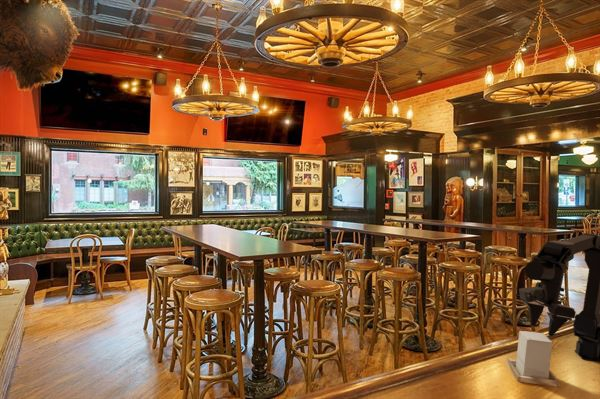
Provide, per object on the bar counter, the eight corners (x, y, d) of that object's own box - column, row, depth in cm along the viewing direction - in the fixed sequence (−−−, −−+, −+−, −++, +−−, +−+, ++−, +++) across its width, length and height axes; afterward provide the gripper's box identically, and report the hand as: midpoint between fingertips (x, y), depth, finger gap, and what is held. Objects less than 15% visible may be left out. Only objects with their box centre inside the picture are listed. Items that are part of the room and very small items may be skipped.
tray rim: (544, 368, 134) (544, 363, 134) (559, 387, 123) (560, 382, 123) (506, 363, 136) (506, 358, 136) (517, 381, 125) (517, 376, 125)
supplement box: (548, 382, 125) (553, 342, 124) (522, 378, 127) (526, 339, 125) (539, 370, 132) (544, 332, 131) (514, 367, 134) (518, 329, 133)
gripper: (510, 271, 138) (501, 316, 138) (544, 283, 119) (533, 336, 120) (542, 277, 138) (533, 323, 138) (581, 291, 120) (570, 343, 120)
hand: (541, 330), depth 129 cm, fingers open, 9 cm apart
